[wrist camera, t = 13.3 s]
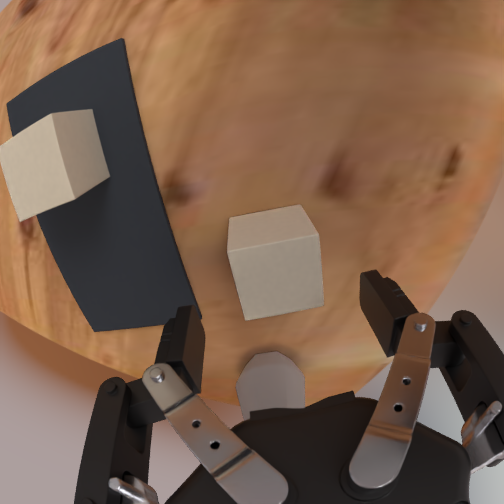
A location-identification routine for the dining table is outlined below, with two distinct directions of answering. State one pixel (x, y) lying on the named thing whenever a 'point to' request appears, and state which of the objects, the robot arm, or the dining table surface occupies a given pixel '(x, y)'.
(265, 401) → the salt shaker
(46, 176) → the beige rounded cube
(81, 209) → the word mat
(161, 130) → the dining table surface
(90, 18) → the dining table surface
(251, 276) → the beige cube block
